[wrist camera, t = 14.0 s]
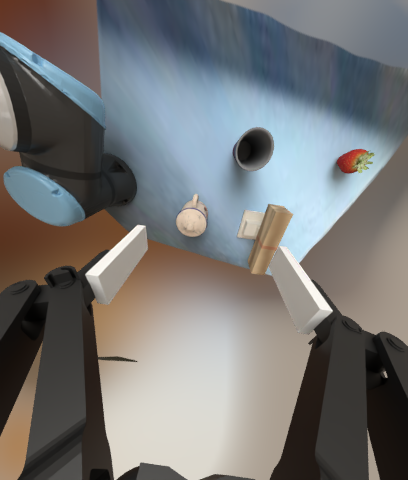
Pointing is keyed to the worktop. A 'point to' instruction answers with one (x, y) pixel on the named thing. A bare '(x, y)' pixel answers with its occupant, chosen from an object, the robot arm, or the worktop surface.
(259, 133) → the cup
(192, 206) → the teacup with lid
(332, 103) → the worktop surface
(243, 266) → the worktop surface
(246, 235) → the fulcrum
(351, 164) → the fruit
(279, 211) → the beam
